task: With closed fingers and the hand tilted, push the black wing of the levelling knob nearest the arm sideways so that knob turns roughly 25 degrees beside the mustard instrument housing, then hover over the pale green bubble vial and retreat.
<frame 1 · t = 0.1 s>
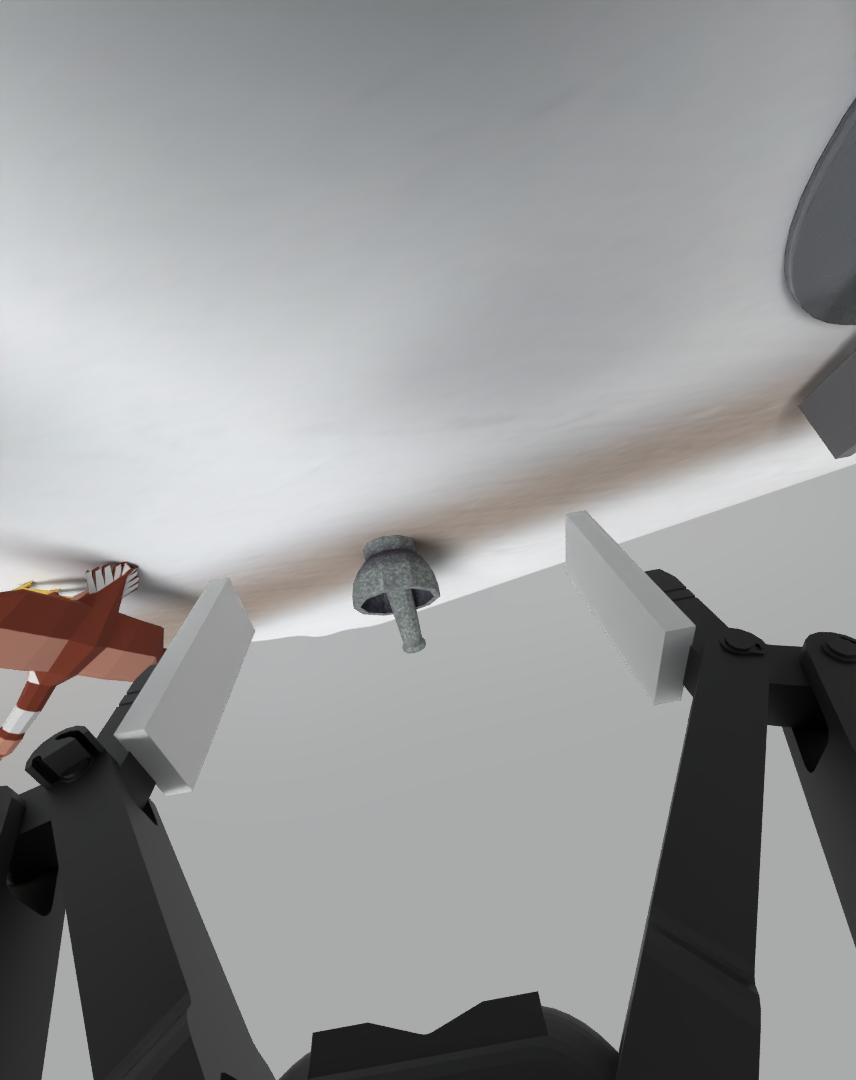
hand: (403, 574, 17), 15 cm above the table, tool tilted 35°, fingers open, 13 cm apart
decorative bird: (77, 575, 44), on the table
mortar and pestle: (390, 547, 51), on the table
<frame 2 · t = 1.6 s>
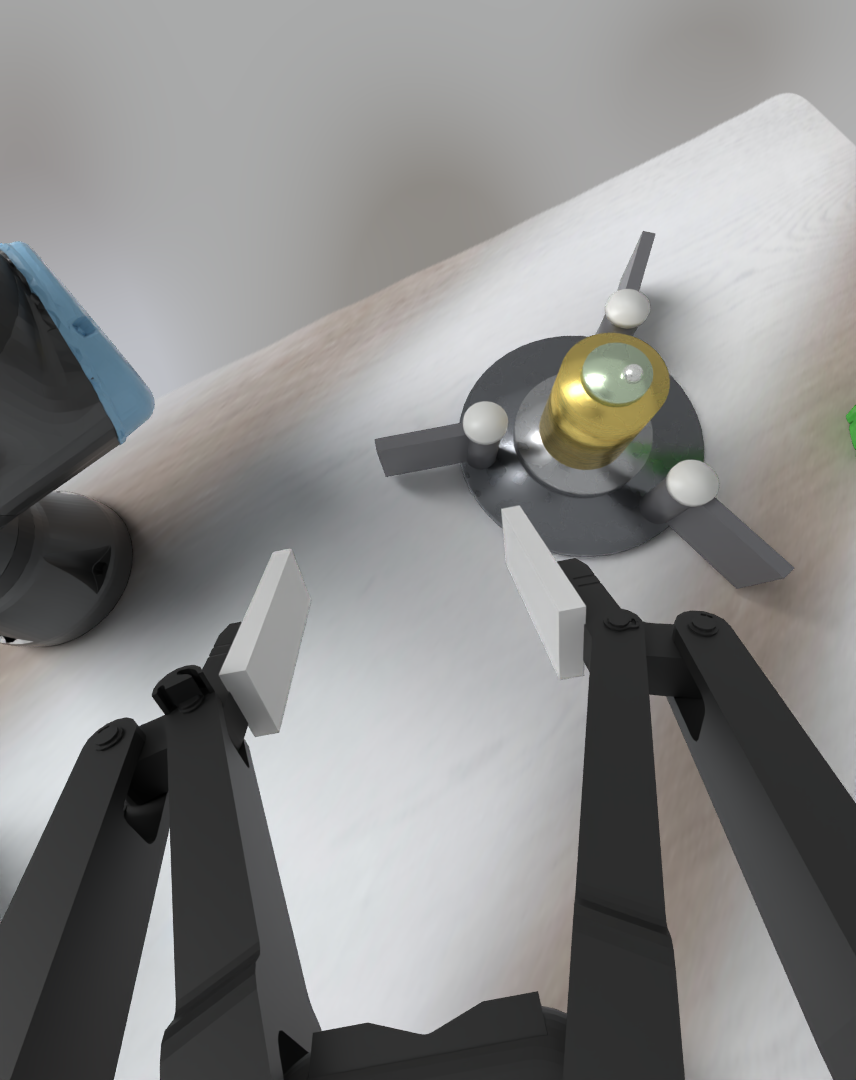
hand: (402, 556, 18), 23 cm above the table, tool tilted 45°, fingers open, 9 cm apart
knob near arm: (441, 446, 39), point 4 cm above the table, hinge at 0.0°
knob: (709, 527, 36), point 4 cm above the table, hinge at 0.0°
tribrach: (575, 442, 43), on the table
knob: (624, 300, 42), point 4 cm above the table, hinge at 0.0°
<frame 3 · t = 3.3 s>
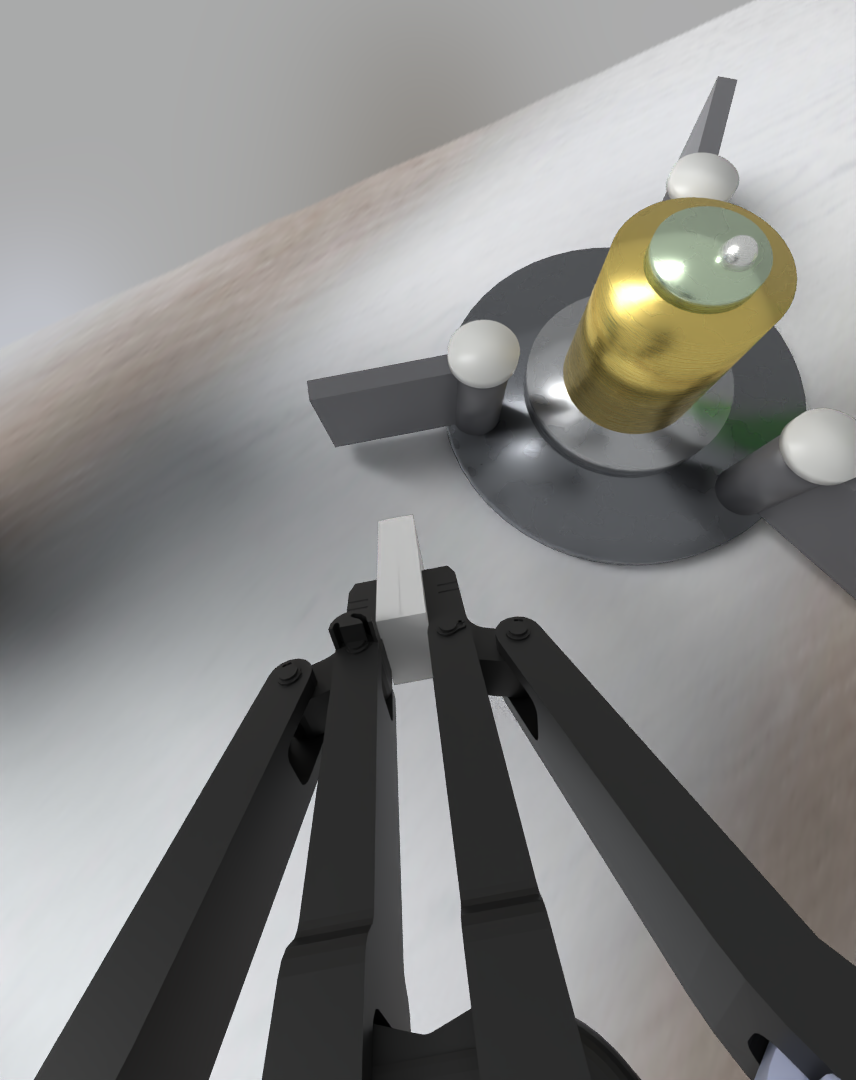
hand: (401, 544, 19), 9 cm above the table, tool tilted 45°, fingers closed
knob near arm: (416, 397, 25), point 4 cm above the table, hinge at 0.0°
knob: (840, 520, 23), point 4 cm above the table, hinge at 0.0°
tribrach: (614, 397, 30), on the table
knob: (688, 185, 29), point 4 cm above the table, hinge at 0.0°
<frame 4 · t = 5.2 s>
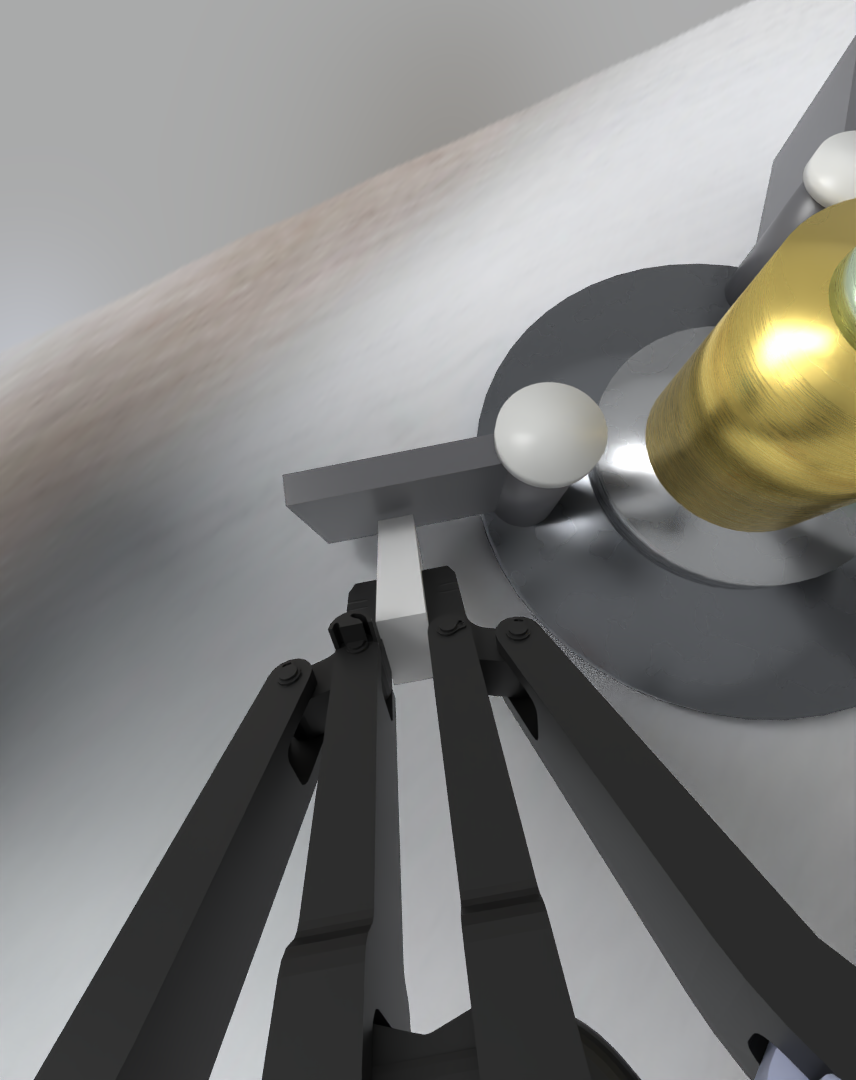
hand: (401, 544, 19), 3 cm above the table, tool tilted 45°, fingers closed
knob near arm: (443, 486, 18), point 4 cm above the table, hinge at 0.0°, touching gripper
tribrach: (707, 467, 22), on the table
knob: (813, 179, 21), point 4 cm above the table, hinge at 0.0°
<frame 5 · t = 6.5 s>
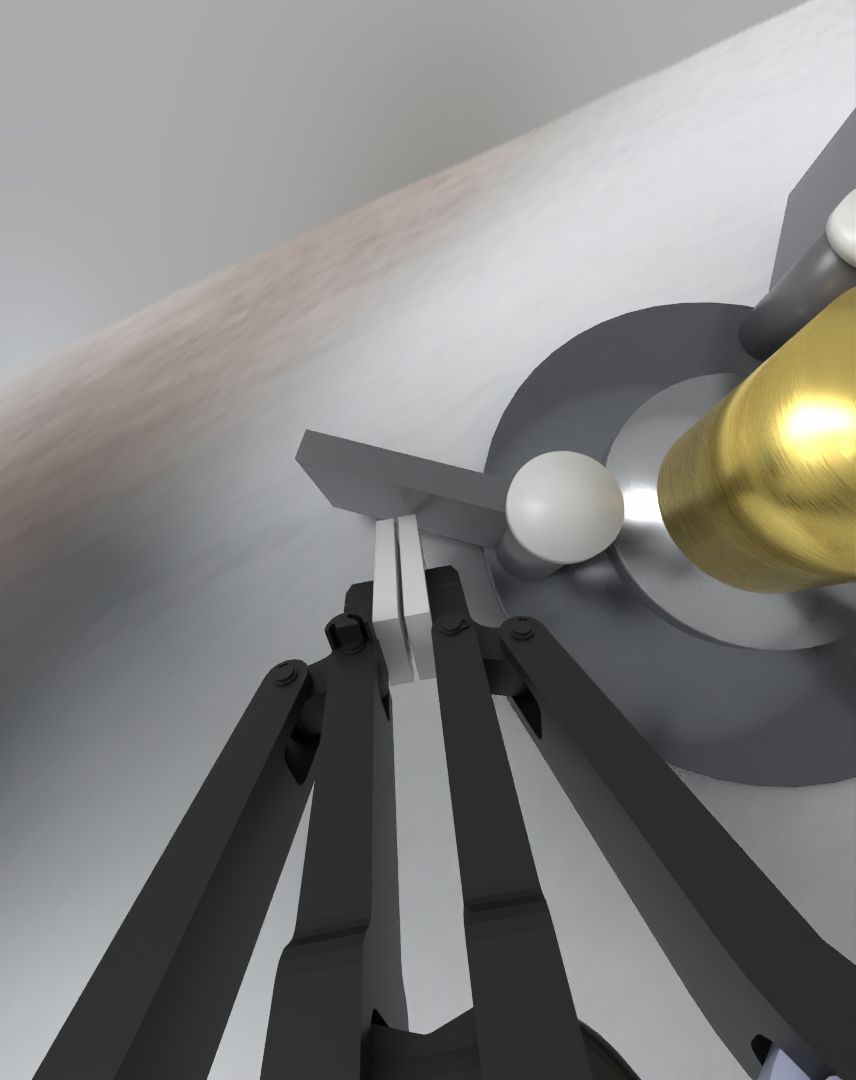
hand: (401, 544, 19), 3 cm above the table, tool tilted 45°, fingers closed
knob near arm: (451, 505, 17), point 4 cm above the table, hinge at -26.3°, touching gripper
tribrach: (718, 516, 21), on the table
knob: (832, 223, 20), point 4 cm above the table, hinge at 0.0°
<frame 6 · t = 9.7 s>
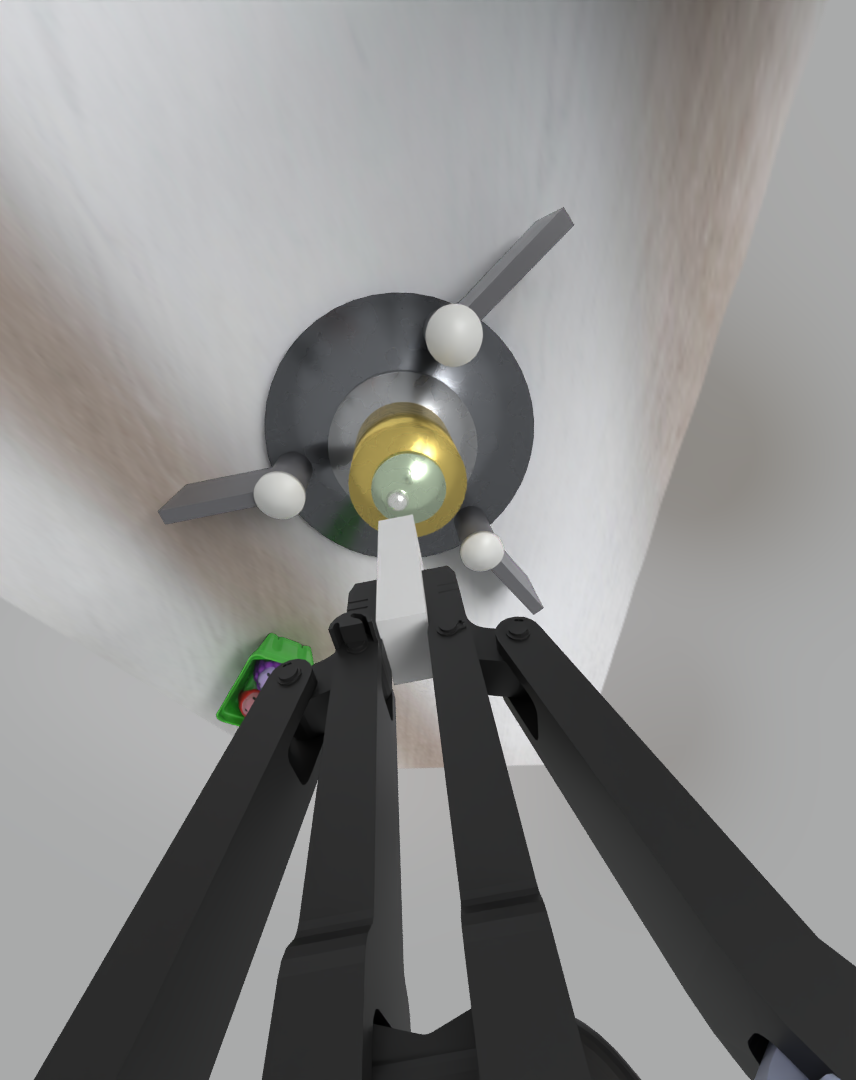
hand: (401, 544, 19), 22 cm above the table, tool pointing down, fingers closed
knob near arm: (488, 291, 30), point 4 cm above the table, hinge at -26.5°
fruit basket: (281, 664, 52), on the table
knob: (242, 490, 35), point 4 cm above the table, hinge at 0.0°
tribrach: (402, 443, 39), on the table
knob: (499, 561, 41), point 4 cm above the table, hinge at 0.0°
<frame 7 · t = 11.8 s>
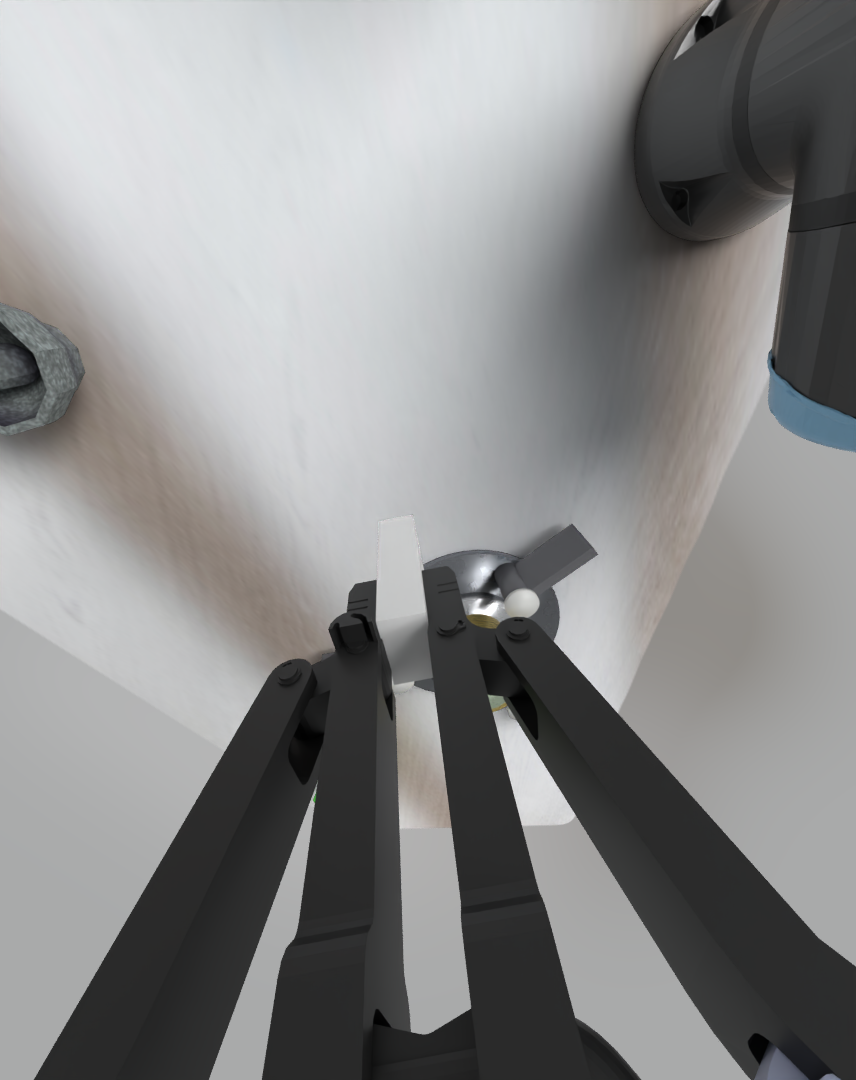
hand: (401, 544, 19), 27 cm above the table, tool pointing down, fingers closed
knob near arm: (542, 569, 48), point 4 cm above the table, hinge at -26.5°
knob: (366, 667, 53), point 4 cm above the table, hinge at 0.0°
tribrach: (469, 626, 57), on the table
mortar and pestle: (38, 360, 37), on the table
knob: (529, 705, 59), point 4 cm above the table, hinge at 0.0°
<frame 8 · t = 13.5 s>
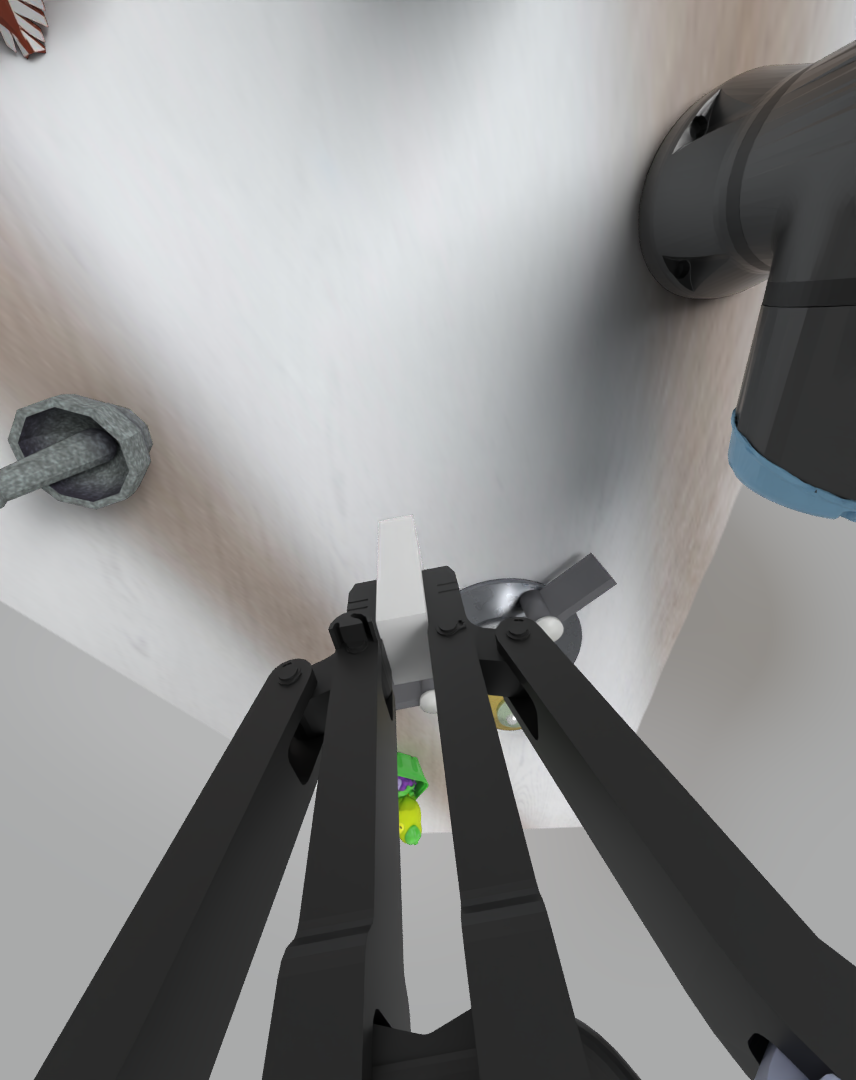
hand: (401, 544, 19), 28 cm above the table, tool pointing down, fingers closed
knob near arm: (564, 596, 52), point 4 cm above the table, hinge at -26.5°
fruit basket: (394, 767, 73), on the table
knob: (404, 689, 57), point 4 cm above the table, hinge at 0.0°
tribrach: (497, 647, 61), on the table
mortar and pestle: (113, 436, 43), on the table
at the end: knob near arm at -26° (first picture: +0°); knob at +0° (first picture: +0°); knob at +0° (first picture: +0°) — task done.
